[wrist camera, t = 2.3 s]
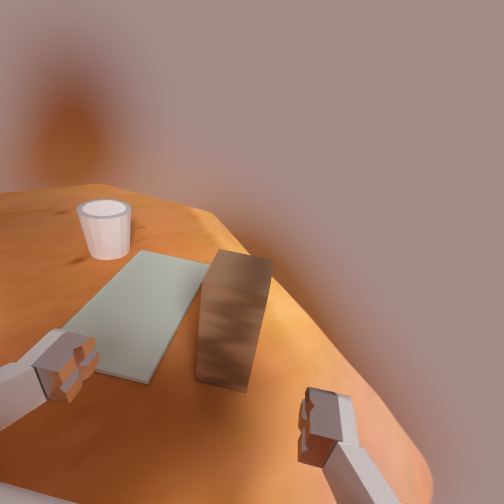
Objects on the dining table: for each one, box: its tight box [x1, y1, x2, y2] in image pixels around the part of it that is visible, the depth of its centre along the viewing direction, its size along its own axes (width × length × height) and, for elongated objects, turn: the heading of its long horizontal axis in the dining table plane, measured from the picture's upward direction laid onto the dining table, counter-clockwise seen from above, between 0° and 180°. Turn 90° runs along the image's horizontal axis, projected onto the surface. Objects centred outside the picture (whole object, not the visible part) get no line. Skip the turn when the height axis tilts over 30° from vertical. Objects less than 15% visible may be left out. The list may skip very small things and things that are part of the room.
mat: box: [61, 250, 210, 385], centre depth 35 cm, size 11×20×1 cm, turn 170°
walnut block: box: [195, 249, 274, 393], centre depth 26 cm, size 5×5×12 cm
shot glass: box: [77, 199, 131, 260], centre depth 42 cm, size 7×7×7 cm
